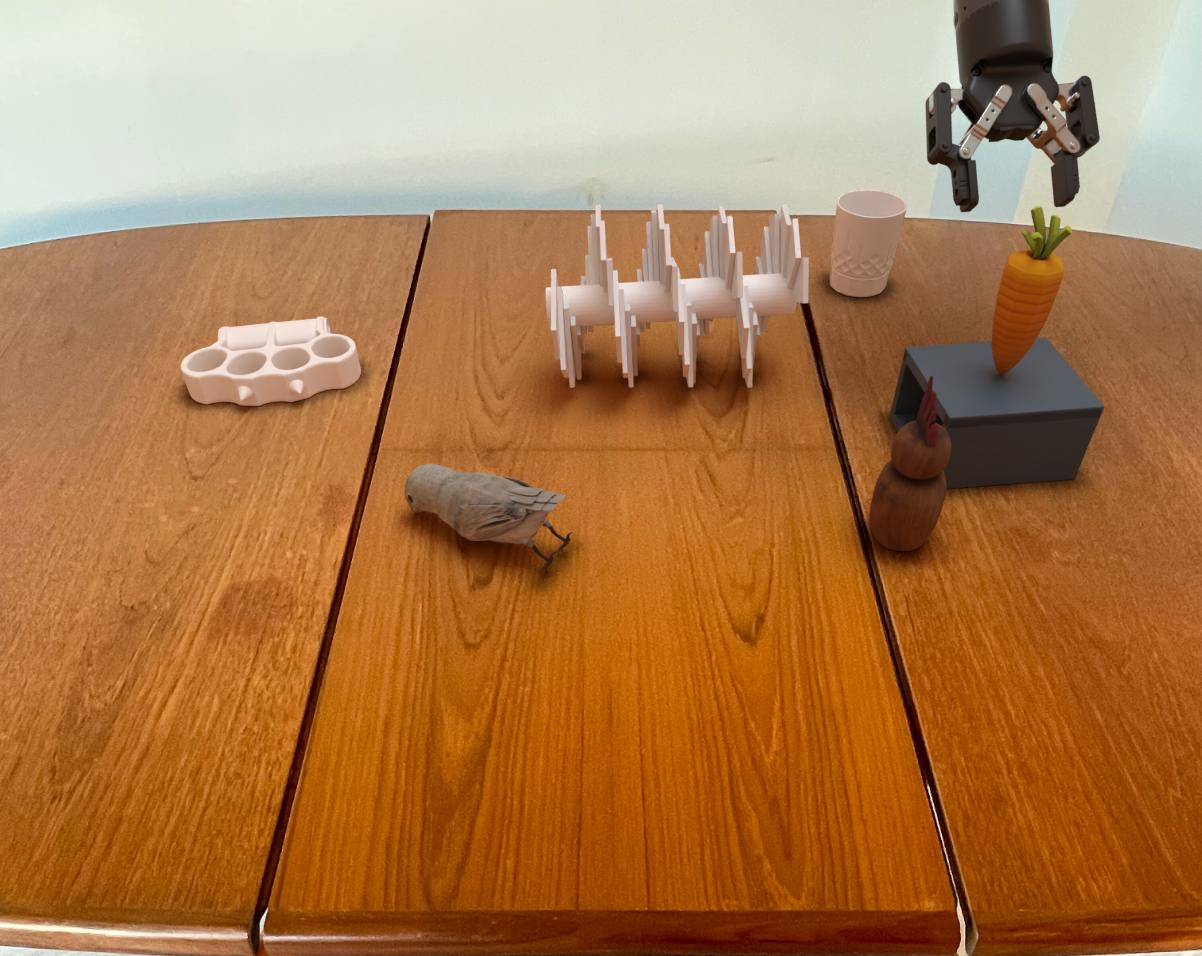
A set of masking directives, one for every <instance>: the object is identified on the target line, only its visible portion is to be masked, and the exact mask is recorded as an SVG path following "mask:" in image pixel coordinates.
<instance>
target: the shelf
mask: <svg viewBox="0 0 1202 956" xmlns="http://www.w3.org/2000/svg"><path fill="white" fill-rule="evenodd" d="M991 342H992V340H989V341H975V342H974V341H973V342H960V343H959V342H958V343H944V344H929V345H915V346H905V347H904V351H903V356H902V359H901V366H900V369H899V374H898V378H897V382H896V387H895V390H894V395H893V399H892V403H891V408H890V412H889V416H888V418H889V420H890V421H891V423H892V426H893V427H894V429H895V431H896V432H897V433H898V431H899V430H900V429H901V428H902V427H903V426H904V425H906V424H907V423H909V422H913V421H916V418H917V415H918V412H919V409H920V406H921V403H922V400H923V396H924V393H925V390H926V387H927V384H928V381H929V378H930V376H933V386H932V394H933V392H936V401H935V408H934V410H937V416H936V424H939V425H941V426H942V427H943V428H944V429H945V430H946V431H947V433H948V434H949V436H950V438H951V454H950V458H949V461H948V464H947V466H946V467H945V469H944V474H945V477H946V490H952V489H963V488H976V487H977V488H979V487H988V486H989V487H990V486H1002V485H1015V484H1027V483H1039V482H1040V483H1042V482H1052V481H1053V482H1054V481H1066V480H1067V481H1068V480H1075V479H1076V477H1077V476H1078V475H1077V474H1078V472H1079V470H1080V467H1081V465H1082V463H1083V460H1084V457H1085V455H1086V453H1087V451H1088V448H1089V446H1090V443H1091V441H1092V438H1093V436H1094V433H1095V431H1096V429H1097V426H1098V424H1099V421H1100V419H1101V416H1102V414H1103V412H1104V409H1105V405H1104V404H1103V403H1102V401H1101V400H1100V399H1099V398H1098V397H1097V395H1095V394H1094V392H1093V391H1092V390H1091V388H1090V387H1089V386H1088V385H1087V384H1086V383H1085V381H1084V380H1083V379H1082V378H1081V376H1079V375H1078V373H1077V372H1076V371H1075V369H1074V368H1073V367H1072V365H1070V364H1069V363H1068V361H1066V359H1065V358H1064V356H1062V354H1061V353H1060V352H1059V351H1058V349H1057V348H1056V347H1055V346H1054V344H1053V343H1052V342H1051V341H1050V340H1049V339H1048V338H1047V337H1037V338H1036V340H1035V342H1034V343H1033V345H1032V347H1031V348H1030V350H1029V351H1028V352H1027V353H1026V355H1025V356H1024V357H1023V358H1022V359H1021V361H1020V362H1019V363H1017V364H1016V365H1015V366H1014V367H1013V368H1012V369H1011V370H1010V371H1009V372H1007V373H1004V374H1002V375H1001V374H999V372H998V371H997V370H996V367H995V363H994V360H993V354H992V345H991Z"/></svg>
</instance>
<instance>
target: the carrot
mask: <svg viewBox="0 0 1202 956" xmlns="http://www.w3.org/2000/svg"><path fill="white" fill-rule="evenodd" d="M1030 214H1031V219H1032V224H1033V228H1034V232H1033V233H1031V231H1030V230H1027V229H1024V230H1023V231H1021V234H1022V236H1023V237H1024V239H1025V241H1026V243H1027V245H1028V247H1029V248H1025V249H1021V250H1017V251H1014V252H1012V253H1010V254H1009V255H1008V256H1007V259H1006V261H1005V264H1004V268H1003V271H1002V276H1001V280H1000V283H999V287H998V291H997V296H996V300H995V304H994V305H995V306H994V312H993V313H994V314H993V321H992V328H991V329H992V332H991V341H992V342H991V345H992V354H993V360H994V363H995V367H996V370H997V371H998V372H999V374H1001V375H1002V374H1004V373H1007V372H1009V371H1010V370H1011V369H1012V368H1013V367H1014V366H1015V365H1016V364H1017V363H1019V362H1020V361H1021V359H1022V358H1023V357H1024V356H1025V355H1026V353H1027V352H1028V351H1029V350H1030V348H1031V347H1032V345H1033V343H1034V342H1035V340H1036V338H1039V335H1040V333H1041V332H1042V329H1044V326H1045V324H1046V322H1047V320H1048V317H1049V315H1050V313H1051V310H1052V308H1053V306H1054V303H1055V300H1056V297H1057V295H1058V292H1059V289H1060V287H1061V284H1062V282H1063V278H1064V261H1063V259H1062V258H1061V257H1060V256H1059V255H1057V254H1055V253H1054V251H1055V250H1056V248H1057V247H1059V245H1060V244H1061V243H1063V241H1064V240H1065V239H1067V238H1068V237H1069V236H1071V234H1073V228H1072V227H1071V226H1069V225H1066V226H1063V228H1061V218H1060V216H1058V215H1057V214H1054V215H1050V220H1049V221H1050V222H1049V227H1048V228H1049V229H1048V234H1047V227H1046V219H1045V214H1044V209H1043V207H1042V205H1041V206H1038V205H1036V206H1034V207H1033V208H1032V209H1030ZM1060 228H1061V229H1060Z"/></svg>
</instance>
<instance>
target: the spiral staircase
mask: <svg viewBox="0 0 1202 956" xmlns="http://www.w3.org/2000/svg"><path fill="white" fill-rule="evenodd" d="M594 207H595V213H590V225H587V247H588V248H587V249H588V254H585V275H581V276H580V284H579V285H578V284H577V285H564V286H563V285H562V286H559V280H558V274H557V273H558V272H557V268H551V269H550V287H549V286H547V287H545V308H546V309H545V310H546V319H547V325H548V329H550V333H551V340H552V347H553V354H554V360H555V361H558V360H560V362H559V363H560V371H561V374H562V376H563V378H564V379H568V382H569V383H568V384H569V388H570V389H571V388H575V387H576V380H578V381H579V380H582V378H583V376H582V374H583V373H582V354H585V353H586V341H585V339H586V338H585V335H587V334H588V333H593V332H594V327H598V326H599V327H600V326H613V325H614V334H615V353H616V363H617V364H622V378H623V379H628V388H634V387H635V386H634V377H638V376H639V367H638V366H639V365H638V347H641V333H646V330H652V328H651V323H666V322H675V324H676V334H677V335H676V337H677V346H678V347H677V348H678V355H679V356H681V361H682V362H681V363H682V364H681V365H682V378H685V380H686V384H687V387H688V388H694V385H696V382H697V381H696V380H697V377H696V376H697V356H698V351H699V344H700V339H701V338H702V337H705V336H709V335H710V322H713V320H715V319H732V318H735V320H736V327H737V328H736V329H737V334H738V335H737V336H738V343H739V344H738V345H739V352H740V359H741V371H742V372H741V373H742V379H744V382H745V385H746V387H747V389H749V388H753V375H754V365H755V358H756V357H755V355H756V347H757V342H758V340H759V338H760V336H761V335H763V334H765V333H768V325H769V324H768V323H769V318H771V316H784V315H795V313H796V310H797V304H798V303H800V304H809V279H810V278H809V273H810V272H809V270H810V267H809V265H810V263H809V261H810V257H802V253H801V251H802V250H801V238H800V230H799V218H792V219H791V216H790V212H789V208H788V205H787V204H786V203H785V204H784V203H783V204H780V213H773V214H770V215H768V226H764V227H763V230H762V236H761V240H760V245H759V256H755V263H754V274H743V273H744V272H743V271H744V270H743V269H744V268H743V264H744V263H743V251H736V243H735V230H734V229H735V228H734V220H733V215H726V210H725V206H724V205H718V213H717V214H718V215H717V214H716V215H711V217H710V219H709V230H708V231H704V236H703V237H704V238H703V247H702V248H703V250H702V262H703V263H698V277H695V278H693V277H692V278H681V271H680V266H678V265H677V262H676V260H675V258H674V256H672V250H671V232H670V230H671V229H670V223H665V217H664V208H663V207H664V206H663V203H658V204H657V210H656V209H652V210H650V221H646V222H645V242H646V243H645V244H646V248H641V262H642V263H641V266H642V268H636V281H629V282H619V269H614V259H613V257H608V247H607V235H606V222H605V220H602V207H601V204H595V205H594Z"/></svg>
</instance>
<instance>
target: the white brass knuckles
mask: <svg viewBox="0 0 1202 956" xmlns="http://www.w3.org/2000/svg"><path fill="white" fill-rule="evenodd" d="M180 372H181V374H182V377H183V380H184V383H185V385H186V389H187V391H188V393H189V396H190V397H191V399H192V400H194V401H195V402H197V403H200V404H202V405H210V404H215V403H234V404H237V405H239V406H242V407H243V406H244V407H250V406H251V407H260V406H262V405H266V404H269V403H270V404H271V403H276V402H287V403H293V402H298V401H303V400H306V399H309V398H311V397H313V396H314V395H316V394H319V393H322V392H325V391H329V390H330V391H331V390H344V389H346V388H349V387H351V386H352V385H354V384H356V383H357V382H358V380H359V379H360V377H361V375H362V368H361V363H360V359H359V354H358V348H357V344H356V342H355V341H354V340H353V339H352V338H351V337H349V336H347V335H344V334H339V333H331V326H330V321H329V317H325V316H317V317H316V318H308V319H297V320H287V321H269V322H267V323H266V322H265V323H256V324H247V325H237V326H227V325H226V326H221V327H220V328H218V330H217V341H215V342H214V343H212V344H211V345H210V346H206V347H203V348H198V349H197V350H193V352H191V353H189V354H187V355H186V356H185V357H184V358H183V359H182V361H181V363H180Z"/></svg>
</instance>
